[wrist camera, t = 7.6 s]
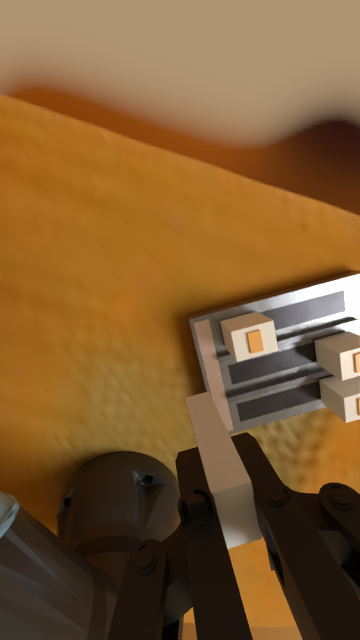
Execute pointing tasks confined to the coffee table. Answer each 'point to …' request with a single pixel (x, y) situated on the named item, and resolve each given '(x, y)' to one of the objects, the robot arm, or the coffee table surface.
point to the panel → (280, 366)
